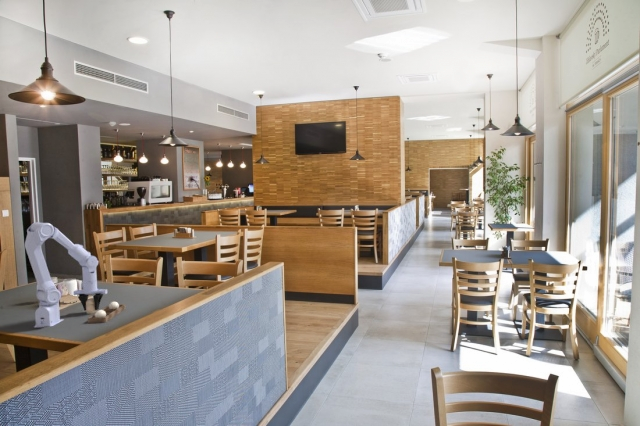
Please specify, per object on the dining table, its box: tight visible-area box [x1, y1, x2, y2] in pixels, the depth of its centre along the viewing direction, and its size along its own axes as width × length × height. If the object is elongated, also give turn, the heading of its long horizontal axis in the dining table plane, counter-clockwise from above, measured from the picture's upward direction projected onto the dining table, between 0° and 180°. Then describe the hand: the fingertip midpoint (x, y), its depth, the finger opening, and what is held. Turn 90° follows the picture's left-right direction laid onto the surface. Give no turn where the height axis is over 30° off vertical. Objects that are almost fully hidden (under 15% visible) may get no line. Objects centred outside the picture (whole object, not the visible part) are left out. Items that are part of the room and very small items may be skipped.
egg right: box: [108, 301, 120, 309], centre depth 207 cm, size 4×4×4 cm
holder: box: [87, 303, 127, 324], centre depth 200 cm, size 21×8×3 cm, turn 2°
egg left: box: [94, 309, 106, 318], centre depth 193 cm, size 4×4×4 cm
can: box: [62, 277, 78, 296], centre depth 227 cm, size 6×6×12 cm
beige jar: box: [85, 297, 98, 315], centre depth 206 cm, size 4×4×7 cm
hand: (91, 309), depth 206 cm, fingers closed on beige jar, 4 cm apart
